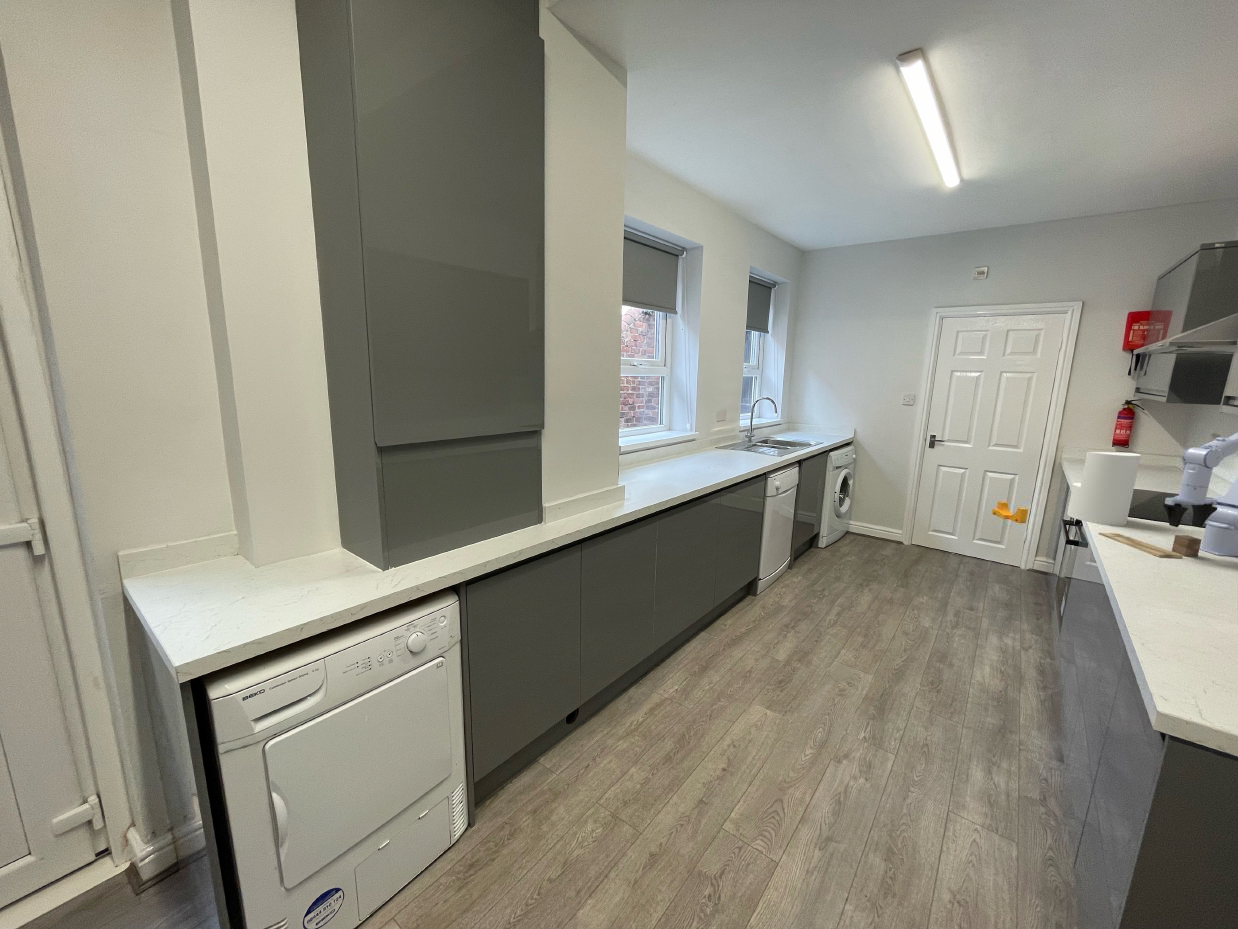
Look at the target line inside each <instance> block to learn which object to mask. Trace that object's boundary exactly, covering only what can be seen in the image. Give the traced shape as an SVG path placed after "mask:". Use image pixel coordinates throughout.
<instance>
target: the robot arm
mask: <svg viewBox="0 0 1238 929" xmlns="http://www.w3.org/2000/svg"><path fill="white" fill-rule="evenodd" d="M1237 451H1238V432H1236V433H1234V434H1233V435H1231V436H1229V437H1219V436H1218V437H1216V438H1215V439H1214V440H1212V441H1210V442H1208V443H1205V444H1203V445H1201V446H1199V447H1195V446H1193V447H1189V448H1187V449H1186V450H1185V451H1184V452H1183V454H1182V455H1181V462H1182V470H1183V474H1182V478H1181V479H1182V480H1181V483H1180V488H1179V493H1178V495H1175V496H1174V497H1173V496H1172V497H1166V498H1165V501H1164V502H1163V504H1162V506H1163V508H1164V509H1165V512H1166V514H1167V520H1168V525H1169V526H1170V527H1174V528H1179V526H1180V525H1181V521H1182V519H1183V516H1184V515H1185V513H1186V512H1187V511H1188V510H1189V508H1188V507H1185V505H1187V506H1189V505H1190V506H1191V508H1192V520H1191V522H1192V523H1191V525H1192V526H1193V527H1198V528H1202V527H1203V526H1204V524H1206V525H1205V530H1204V534H1203V538H1202V541H1201V545H1200V549H1199V551H1202V552H1203V551H1204V552H1206V553H1210V554H1213V555H1217V556H1226V557H1227V556H1229V557H1230V556H1232V557H1238V476H1237V477H1236V478H1235V480H1234V481H1233V483H1232V485H1231V486H1230V487H1229V489H1228V490H1227V492H1226V493H1225V494H1224V495H1221V496H1217V497H1213V498H1208V497H1207V495H1208V491H1209V485H1210V482H1211V479H1212V478H1211V476H1212V473H1213V469H1214V468H1216V467H1218V466H1219V465H1220V463H1221V462H1222V461H1223V460H1224V459H1225V458H1227V457H1229V456H1232V455H1233V454H1235V453H1237Z"/></svg>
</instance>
